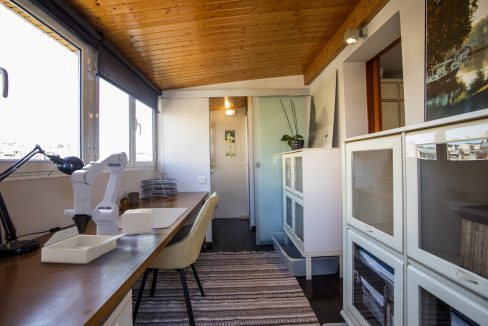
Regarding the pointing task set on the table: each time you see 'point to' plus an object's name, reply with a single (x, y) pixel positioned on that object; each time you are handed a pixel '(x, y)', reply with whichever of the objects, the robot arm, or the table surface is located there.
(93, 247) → the flap
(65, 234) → the flap
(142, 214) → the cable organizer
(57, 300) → the table surface
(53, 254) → the carton
